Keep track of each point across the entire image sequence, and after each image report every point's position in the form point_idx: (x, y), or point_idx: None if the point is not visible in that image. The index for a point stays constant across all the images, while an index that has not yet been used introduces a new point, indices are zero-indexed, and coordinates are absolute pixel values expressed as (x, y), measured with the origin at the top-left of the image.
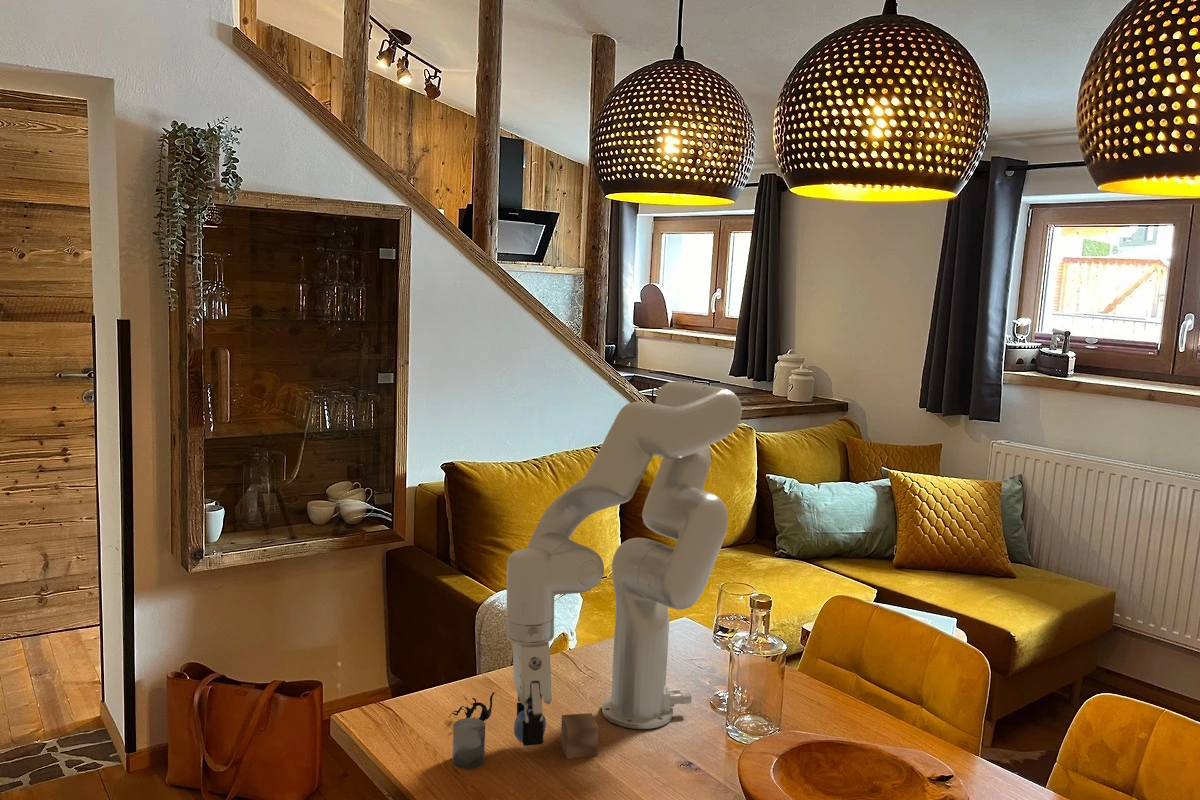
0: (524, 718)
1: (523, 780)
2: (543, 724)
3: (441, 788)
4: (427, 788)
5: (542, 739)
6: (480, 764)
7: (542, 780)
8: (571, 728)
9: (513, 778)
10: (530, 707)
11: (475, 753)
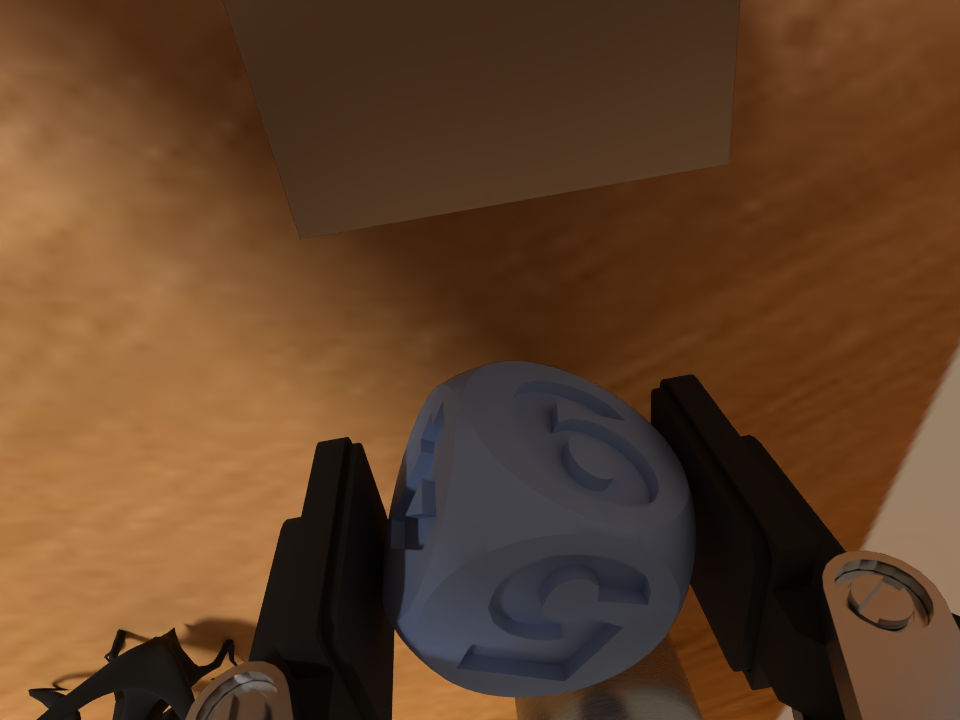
0: (793, 714)
1: (834, 397)
2: (511, 424)
3: None
4: (775, 703)
5: (707, 395)
6: None
7: (872, 293)
8: (713, 108)
9: (796, 445)
10: (357, 630)
11: (684, 674)
